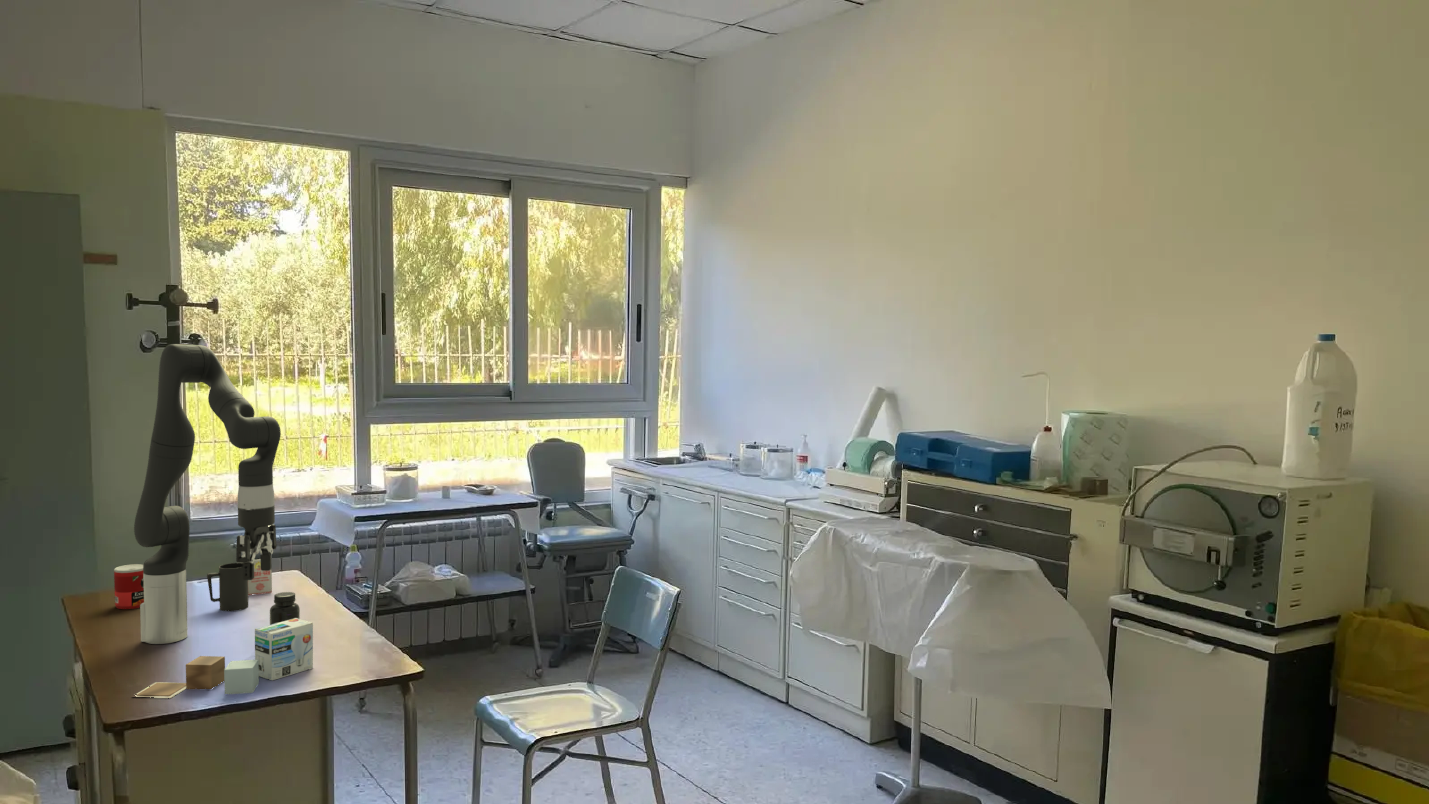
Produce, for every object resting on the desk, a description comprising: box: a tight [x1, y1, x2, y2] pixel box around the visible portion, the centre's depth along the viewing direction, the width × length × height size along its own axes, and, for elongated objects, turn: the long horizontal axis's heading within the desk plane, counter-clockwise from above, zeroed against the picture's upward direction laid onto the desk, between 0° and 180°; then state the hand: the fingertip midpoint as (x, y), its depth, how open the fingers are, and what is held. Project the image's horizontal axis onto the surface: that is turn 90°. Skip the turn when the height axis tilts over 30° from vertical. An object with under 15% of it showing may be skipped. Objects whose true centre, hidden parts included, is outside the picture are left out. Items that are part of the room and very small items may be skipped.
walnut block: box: [185, 655, 226, 690], centre depth 204 cm, size 6×6×6 cm
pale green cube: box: [223, 659, 260, 695], centre depth 202 cm, size 6×6×6 cm
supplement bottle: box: [269, 591, 301, 625], centre depth 234 cm, size 7×7×12 cm
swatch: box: [134, 681, 187, 699], centre depth 200 cm, size 8×8×1 cm
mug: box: [206, 562, 249, 612], centre depth 261 cm, size 10×7×12 cm
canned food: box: [113, 563, 144, 610], centre depth 263 cm, size 8×8×11 cm
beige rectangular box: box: [248, 558, 273, 596], centre depth 278 cm, size 4×7×10 cm, turn 122°
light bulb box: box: [254, 618, 314, 681], centre depth 213 cm, size 11×7×11 cm, turn 148°
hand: (257, 575), depth 213 cm, fingers open, 8 cm apart
